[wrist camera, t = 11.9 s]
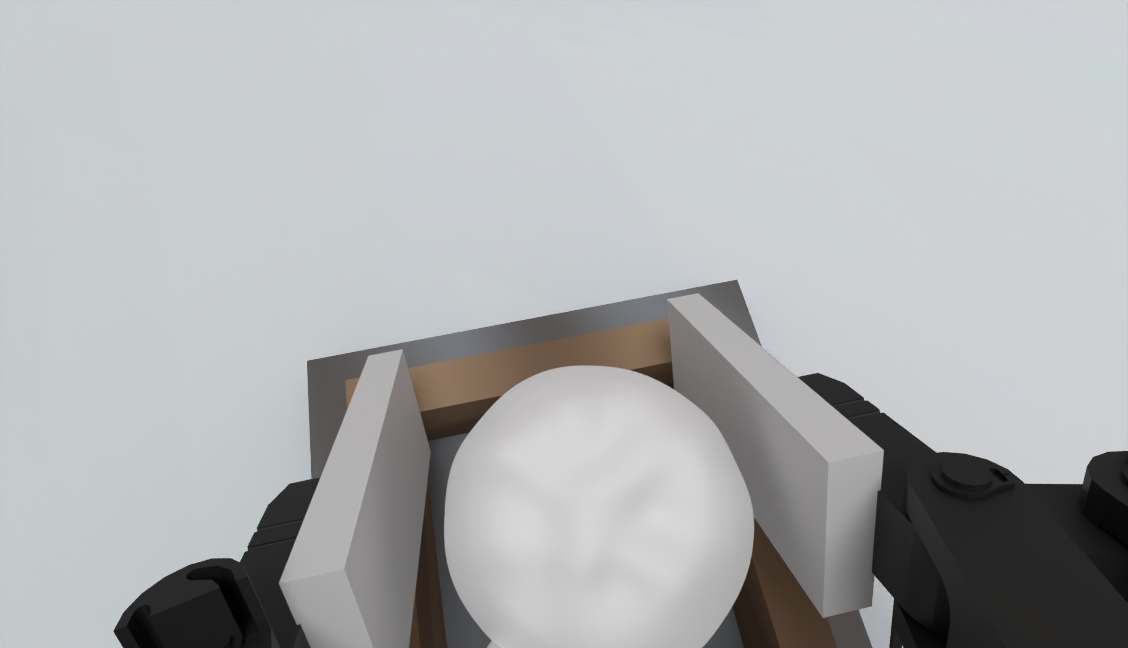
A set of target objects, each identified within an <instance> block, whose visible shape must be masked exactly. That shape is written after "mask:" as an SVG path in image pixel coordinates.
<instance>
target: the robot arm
mask: <svg viewBox="0 0 1128 648" xmlns="http://www.w3.org/2000/svg"><path fill="white" fill-rule="evenodd" d="M667 307H668V319H669V332H670V344H671V356H672V369H673V381H674V390H675V391H677V392H678V393H680V394H681V395H683V396H684V397H686V398H687V399H688V400H690V401H691V402H692V403H694V404H695V405H696V406H697V407H699V408H700V409H701V410H702V411H703V412H704V413H705V414H706V415H707V416H708V417H709V418H710V419H711V420H712V421H713V422H714V424H715V425H716V426H717V428H718V429H719V431H720V432H721V434H722V436H723V437H724V439H725V441H726V443H727V445H728V447H729V449H730V451H731V453H732V455H733V457H734V460H735V462H736V464H737V466H738V468H739V470H740V473H741V475H742V477H743V479H744V481H745V484H746V486H747V489H748V492H749V495H750V499H751V503H752V508H753V515H754V518H755V519H756V521H757V522H758V524H759V525H760V527H761V528H762V529H763V531H764V532H765V534H766V535H767V537H768V538H769V540H770V541H771V543H772V544H773V546H774V547H775V549H776V550H777V551H778V553H779V554H780V556H781V557H782V559H783V560H784V562H785V563H786V565H787V566H788V568H789V569H790V571H791V572H792V573H793V575H794V576H795V578H796V579H797V581H798V582H799V584H800V585H801V587H802V588H803V590H804V591H805V593H806V594H807V595H808V597H809V598H810V600H811V601H812V603H813V604H814V606H815V607H816V609H817V610H818V612H819V613H820V614H821V616H822V617H823V618H825V617H829V616H833V615H838V614H842V613H846V612H850V611H854V610H858V609H862V608H866V607H870V606H872V596H873V583H874V575H875V576H876V578H877V579H878V580H879V581H880V582H881V583H882V585H883V586H884V587H885V588H886V589H887V590H888V592H889V593H890V594H891V595H892V596H893V597H894V606H893V616H892V626H891V636H890V647H889V648H902V645H903V647H904V648H1128V451H1117V452H1106V453H1103V454H1101V455H1098V456H1095V457H1093V458H1092V460H1091V461H1090V463H1089V464H1088V466H1087V469H1086V473H1085V477H1084V482H1083V484H1024V483H1023V481H1021V480H1020V479H1019V478H1018V477H1017V476H1015V475H1014V474H1013V473H1012V472H1010V471H1009V470H1008V469H1006V468H1004V467H1002V466H1000V465H998V464H995V463H993V462H991V461H989V460H987V459H983V458H979V457H975V456H972V455H968V454H961V453H949V452H940V453H936V452H935V451H933V450H932V449H931V448H930V447H928V446H927V445H926V444H924V443H923V442H922V441H920V440H919V439H918V438H916V437H915V436H914V435H912V434H911V433H910V432H908V431H907V430H906V429H904V428H903V427H902V426H900V425H899V424H898V423H896V422H895V421H894V420H893V419H891V418H890V417H889V416H887V415H886V414H885V413H880V411H879V409H878V408H877V407H875V406H874V405H873V404H871V403H870V402H869V401H864V398H863V397H862V396H861V395H859V394H858V393H857V392H856V391H854V390H853V389H852V388H850V387H849V386H848V385H846V384H845V383H843V382H840V381H838V380H835V379H832V378H830V377H827V376H825V375H822V374H819V373H815V374H810V375H806V376H801V377H797V376H796V375H794V374H793V373H792V372H791V371H790V370H788V369H787V368H786V367H785V366H784V365H783V364H781V363H780V362H779V361H778V360H777V359H775V358H774V357H773V356H772V355H771V354H770V353H768V352H767V351H766V350H765V349H764V348H762V347H761V346H760V345H759V344H758V343H757V342H755V341H754V340H753V339H752V338H751V337H749V336H748V335H747V334H746V333H745V332H744V331H742V330H741V329H740V328H739V327H738V326H737V325H735V324H734V323H733V322H732V321H731V320H729V319H728V318H727V317H726V316H725V315H724V314H722V313H721V312H720V311H719V310H718V309H716V308H715V307H714V306H713V305H712V304H711V303H709V302H708V301H707V300H706V299H705V298H703V297H702V296H701V295H700V294H699V293H697V294H691V295H686V296H681V297H676V298H670V299H667ZM430 454H431V451H430V447H429V443H428V440H427V436H426V432H425V429H424V425H423V421H422V418H421V414H420V410H419V407H418V403H417V399H416V396H415V392H414V388H413V385H412V381H411V377H410V374H409V370H408V366H407V363H406V359H405V355H404V352H403V349H401V350H396V351H391V352H385V353H380V354H375V355H370V356H368V358H367V361H366V363H365V366H364V368H363V371H362V373H361V376H360V379H359V381H358V384H357V386H356V389H355V391H354V394H353V396H352V399H351V401H350V404H349V406H348V409H347V411H346V414H345V417H344V419H343V422H342V424H341V427H340V429H339V432H338V434H337V437H336V439H335V442H334V444H333V447H332V450H331V452H330V455H329V457H328V460H327V462H326V465H325V467H324V470H323V472H322V475H321V477H320V478H315V479H310V480H305V481H300V482H296V483H291V484H289V485H288V486H287V487H286V488H285V489H284V490H283V491H282V492H281V493H280V494H279V495H278V496H277V497H276V498H275V499H274V500H273V501H272V502H271V503H270V504H269V505H268V507H267V509H266V511H265V513H264V515H263V517H262V519H261V521H260V523H259V525H258V527H257V532H255V533H254V535H253V537H252V539H251V541H250V543H249V545H248V551H246V552H245V553H244V555H243V557H242V559H241V561H240V562H237V561H235V560H233V559H231V558H217V559H209V560H205V561H202V562H198V563H195V564H191V565H188V566H186V567H184V568H182V569H180V570H178V571H176V572H174V573H172V574H170V575H168V576H166V577H164V578H163V579H161V580H160V581H159V582H157V583H156V584H154V585H153V586H152V587H150V588H149V589H147V590H146V591H145V592H143V593H142V594H141V595H140V596H139V597H138V598H137V599H136V600H135V601H134V602H133V603H132V604H131V605H130V606H129V607H128V608H127V609H126V610H125V612H124V613H123V614H122V616H121V618H120V620H119V622H118V624H117V626H116V627H115V629H114V633H115V635H116V636H117V638H118V640H119V641H120V643H121V645H122V646H123V648H409V643H410V634H411V625H412V616H413V607H414V598H415V589H416V580H417V571H418V562H419V553H420V544H421V535H422V526H423V517H424V508H425V499H426V490H427V481H428V472H429V463H430Z"/></svg>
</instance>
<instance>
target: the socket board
mask: <svg viewBox="0 0 1128 648" xmlns="http://www.w3.org/2000/svg"><path fill="white" fill-rule="evenodd" d="M697 293H699V294H700V295H701V296H702V297H703V298H705V299H706V300H707V301H708V302H709V303H711V304H712V305H713V306H714V307H715V308H716V309H718V310H719V311H720V312H721V313H722V314H724V315H725V316H726V317H727V318H728V319H729V320H731V321H732V322H733V323H734V324H735V325H737V326H738V327H739V328H740V329H741V330H742V331H744V332H745V333H746V334H747V335H748V336H749V337H751V338H752V339H753V340H754V341H755V342H757V343H758V344H759V345H760V346H761V344H760V341H759V338H758V335H757V333H756V330H755V327H754V324H753V322H752V319H751V316H750V314H749V311H748V308H747V305H746V303H745V300H744V297H743V295H742V292H741V289H740V286H739V284H738V281H737V280H733V281H728V282H723V283H718V284H712V285H707V286H702V287H696V288H691V289H686V290H680V291H675V292H670V293H665V294H659V295H654V296H649V297H643V298H638V299H633V300H627V301H622V302H617V303H612V304H606V305H601V306H596V307H590V308H585V309H580V310H574V311H569V312H564V313H558V314H553V315H548V316H543V317H537V318H532V319H527V320H521V321H516V322H511V323H505V324H500V325H495V326H490V327H484V328H479V329H474V330H468V331H463V332H458V333H452V334H447V335H442V336H436V337H431V338H426V339H421V340H415V341H410V342H405V343H399V344H394V345H389V346H383V347H378V348H373V349H368V350H362V351H357V352H352V353H346V354H341V355H336V356H330V357H325V358H320V359H315V360H309V361H307V372H308V398H309V424H310V450H311V476H312V479H315V478H320V477H321V475H322V472H323V470H324V467H325V465H326V462H327V460H328V457H329V455H330V452H331V450H332V447H333V444H334V442H335V439H336V437H337V434H338V432H339V429H340V427H341V424H342V422H343V419H344V417H345V414H346V411H347V409H348V406H349V404H350V401H351V399H352V396H353V394H354V391H355V389H356V386H357V384H358V381H359V379H360V376H361V373H362V371H363V368H364V366H365V363H366V361H367V358H368V356H370V355H375V354H380V353H385V352H391V351H396V350H401V349H403V352H404V355H405V359H406V363H407V366H408V370H409V374H410V377H411V381H412V385H413V388H414V392H415V396H416V399H417V403H418V407H419V410H420V414H421V418H422V421H423V425H424V429H425V432H426V436H427V440H428V443H429V447H430V451H431V454H430V463H429V472H428V481H427V490H426V499H425V508H424V517H423V526H422V535H421V544H420V553H419V562H418V571H417V580H416V589H415V598H414V607H413V616H412V625H411V634H410V643H409V648H486V647H487V646H488V644H489V643H490V642H491V639H490V638H489V637H488V636H487V635H486V634H485V633H484V632H483V631H482V629H481V628H480V627H479V626H478V624H477V623H476V622H475V621H474V619H473V618H472V617H471V615H470V614H469V612H468V611H467V609H466V608H465V606H464V604H463V603H462V601H461V599H460V597H459V595H458V593H457V591H456V589H455V586H454V584H453V581H452V579H451V576H450V572H449V569H448V564H447V559H446V553H445V543H444V516H445V500H446V490H447V484H448V478H449V474H450V470H451V466H452V463H453V461H454V458H455V456H456V454H457V452H458V450H459V448H460V446H461V444H462V443H463V441H464V440H465V438H466V437H467V435H468V434H469V433H470V431H471V430H472V429H473V427H474V426H475V425H476V424H477V423H478V421H479V420H480V419H481V418H482V417H483V415H484V414H485V413H486V412H487V411H488V410H489V409H490V407H491V406H492V405H493V404H494V403H495V402H496V401H497V400H498V399H499V398H500V397H502V396H503V395H504V394H505V393H506V392H507V391H509V390H510V389H511V388H513V387H514V386H516V385H517V384H519V383H520V382H522V381H524V380H526V379H528V378H530V377H532V376H534V375H536V374H539V373H541V372H544V371H547V370H551V369H555V368H560V367H567V366H607V367H616V368H622V369H627V370H631V371H634V372H638V373H641V374H643V375H646V376H649V377H651V378H653V379H655V380H657V381H659V382H661V383H663V384H665V385H667V386H669V387H670V388H672V389H674V381H673V369H672V356H671V344H670V332H669V319H668V307H667V299H670V298H676V297H681V296H686V295H691V294H697ZM761 347H762V346H761ZM702 648H872V646H871V643H870V640H869V638H868V635H867V632H866V629H865V627H864V624H863V621H862V618H861V616H860V613H859V610H854V611H850V612H846V613H842V614H838V615H833V616H829V617H825V618H823V617H822V616H821V614H820V613H819V612H818V610H817V609H816V607H815V606H814V604H813V603H812V601H811V600H810V598H809V597H808V595H807V594H806V593H805V591H804V590H803V588H802V587H801V585H800V584H799V582H798V581H797V579H796V578H795V576H794V575H793V573H792V572H791V571H790V569H789V568H788V566H787V565H786V563H785V562H784V560H783V559H782V557H781V556H780V554H779V553H778V551H777V550H776V549H775V547H774V546H773V544H772V543H771V541H770V540H769V538H768V537H767V535H766V534H765V532H764V531H763V529H762V528H761V527H760V525H759V524H758V522H757V521H756V519H755V518H754V540H753V549H752V555H751V561H750V565H749V569H748V572H747V575H746V578H745V581H744V583H743V586H742V588H741V591H740V593H739V595H738V597H737V599H736V601H735V602H734V604H733V606H732V608H731V609H730V611H729V613H728V614H727V616H726V617H725V619H724V620H723V622H722V623H721V625H720V626H719V628H718V629H717V630H716V632H715V633H714V634H713V636H712V637H711V638H710V639H709V641H708V642H707V643H706V644H705V645H704V646H703V647H702Z"/></svg>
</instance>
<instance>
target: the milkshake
mask: <svg viewBox="0 0 1128 648" xmlns="http://www.w3.org/2000/svg"><path fill="white" fill-rule="evenodd" d="M753 540H754V515H753V508H752V503H751V499H750V495H749V492H748V489H747V486H746V484H745V481H744V479H743V477H742V475H741V473H740V470H739V468H738V466H737V464H736V462H735V460H734V457H733V455H732V453H731V451H730V449H729V447H728V445H727V443H726V441H725V439H724V437H723V436H722V434H721V432H720V431H719V429H718V428H717V426H716V425H715V424H714V422H713V421H712V420H711V419H710V418H709V417H708V416H707V415H706V414H705V413H704V412H703V411H702V410H701V409H700V408H699V407H697V406H696V405H695V404H694V403H692V402H691V401H690V400H688V399H687V398H686V397H684V396H683V395H681V394H680V393H678V392H677V391H675V390H674V389H672V388H670V387H669V386H667V385H665V384H663V383H661V382H659V381H657V380H655V379H653V378H651V377H649V376H646V375H643V374H641V373H638V372H634V371H631V370H627V369H622V368H616V367H607V366H567V367H560V368H555V369H551V370H547V371H544V372H541V373H539V374H536V375H534V376H532V377H530V378H528V379H526V380H524V381H522V382H520V383H519V384H517V385H516V386H514V387H513V388H511V389H510V390H509V391H507V392H506V393H505V394H504V395H503V396H502V397H500V398H499V399H498V400H497V401H496V402H495V403H494V404H493V405H492V406H491V407H490V409H489V410H488V411H487V412H486V413H485V414H484V415H483V417H482V418H481V419H480V420H479V421H478V423H477V424H476V425H475V426H474V427H473V429H472V430H471V431H470V433H469V434H468V435H467V437H466V438H465V440H464V441H463V443H462V444H461V446H460V448H459V450H458V452H457V454H456V456H455V458H454V461H453V463H452V466H451V470H450V474H449V478H448V484H447V490H446V500H445V516H444V543H445V553H446V559H447V564H448V569H449V572H450V576H451V579H452V581H453V584H454V586H455V589H456V591H457V593H458V595H459V597H460V599H461V601H462V603H463V604H464V606H465V608H466V609H467V611H468V612H469V614H470V615H471V617H472V618H473V619H474V621H475V622H476V623H477V624H478V626H479V627H480V628H481V629H482V631H483V632H484V633H485V634H486V635H487V636H488V637H489V638H490V639H491V642H490V643H489V644H488V646H487V647H486V648H702V647H703V646H704V645H705V644H706V643H707V642H708V641H709V639H710V638H711V637H712V636H713V634H714V633H715V632H716V630H717V629H718V628H719V626H720V625H721V623H722V622H723V620H724V619H725V617H726V616H727V614H728V613H729V611H730V609H731V608H732V606H733V604H734V602H735V601H736V599H737V597H738V595H739V593H740V591H741V588H742V586H743V583H744V581H745V578H746V575H747V572H748V569H749V565H750V561H751V555H752V549H753Z"/></svg>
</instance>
